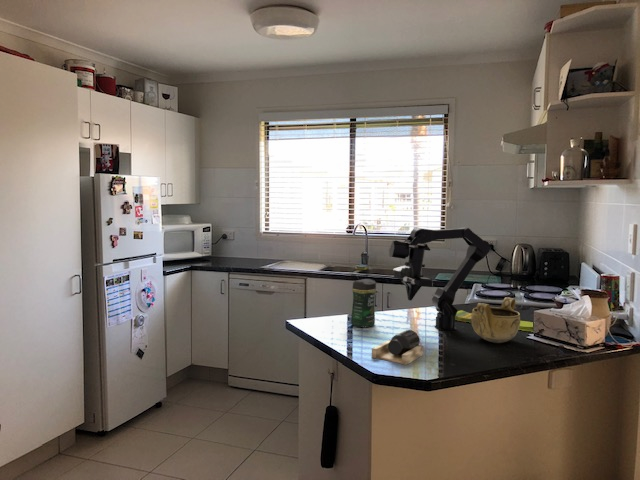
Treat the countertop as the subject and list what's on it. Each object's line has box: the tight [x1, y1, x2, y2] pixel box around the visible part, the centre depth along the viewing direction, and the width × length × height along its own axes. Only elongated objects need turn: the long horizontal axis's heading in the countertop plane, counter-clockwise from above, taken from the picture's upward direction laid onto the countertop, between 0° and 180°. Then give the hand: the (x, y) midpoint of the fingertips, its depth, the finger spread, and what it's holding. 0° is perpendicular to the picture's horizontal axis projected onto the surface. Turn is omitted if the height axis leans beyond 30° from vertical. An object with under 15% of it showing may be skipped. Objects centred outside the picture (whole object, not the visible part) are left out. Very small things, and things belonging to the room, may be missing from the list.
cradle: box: [371, 339, 424, 366], centre depth 169 cm, size 13×12×3 cm
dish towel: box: [455, 309, 534, 332], centre depth 217 cm, size 15×36×3 cm, turn 54°
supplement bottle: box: [388, 329, 421, 356], centre depth 169 cm, size 7×7×12 cm
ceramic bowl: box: [471, 296, 521, 344], centre depth 189 cm, size 22×17×15 cm
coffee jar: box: [350, 278, 377, 328], centre depth 207 cm, size 10×8×19 cm
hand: (409, 300), depth 202 cm, fingers closed
